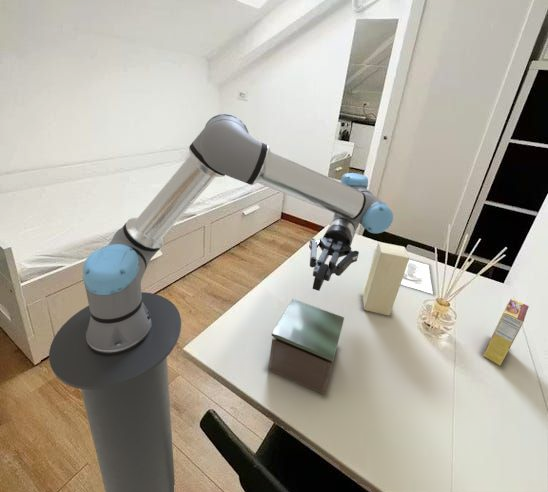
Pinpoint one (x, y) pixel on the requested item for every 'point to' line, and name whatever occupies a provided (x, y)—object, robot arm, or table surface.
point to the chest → (300, 365)
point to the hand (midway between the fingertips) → (316, 284)
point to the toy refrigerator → (385, 278)
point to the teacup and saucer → (417, 276)
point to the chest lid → (310, 329)
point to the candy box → (506, 331)
